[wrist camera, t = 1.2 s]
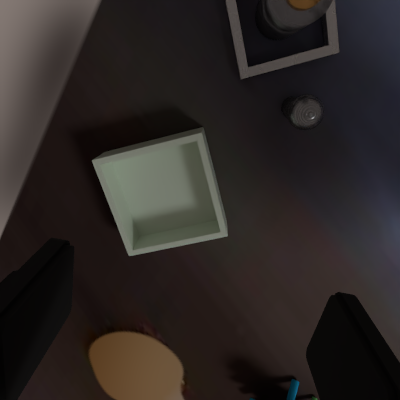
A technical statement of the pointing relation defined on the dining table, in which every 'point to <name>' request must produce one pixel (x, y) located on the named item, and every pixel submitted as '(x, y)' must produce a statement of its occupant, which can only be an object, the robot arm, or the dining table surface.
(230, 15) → the grey piece
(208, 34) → the dining table surface
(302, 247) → the dining table surface
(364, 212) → the dining table surface
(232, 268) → the dining table surface
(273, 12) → the grey cylinder
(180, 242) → the bin
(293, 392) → the blue plastic angled piece
